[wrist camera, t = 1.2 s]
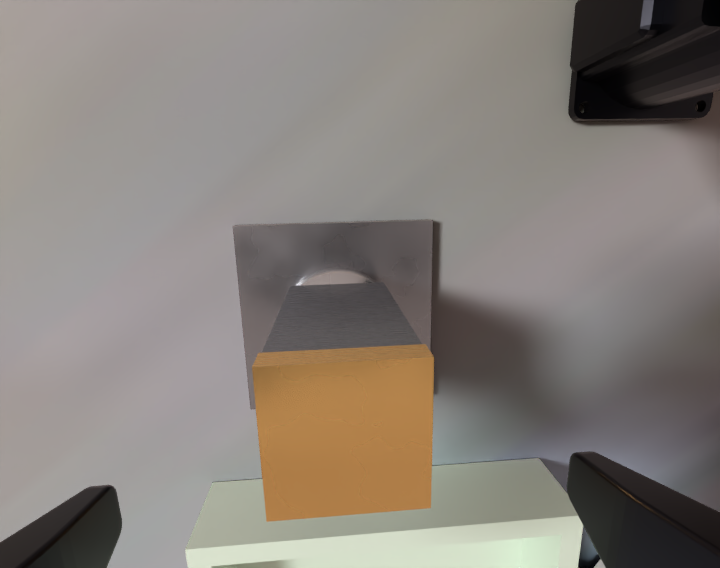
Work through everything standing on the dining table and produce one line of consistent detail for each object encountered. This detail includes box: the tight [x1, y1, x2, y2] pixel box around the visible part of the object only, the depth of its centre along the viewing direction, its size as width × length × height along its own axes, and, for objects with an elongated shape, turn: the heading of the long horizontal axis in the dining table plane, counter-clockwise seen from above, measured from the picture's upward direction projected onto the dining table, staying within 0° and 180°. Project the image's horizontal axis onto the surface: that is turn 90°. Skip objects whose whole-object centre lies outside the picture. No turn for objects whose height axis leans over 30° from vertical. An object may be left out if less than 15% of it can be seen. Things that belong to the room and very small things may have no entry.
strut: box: [252, 282, 434, 522], centre depth 13 cm, size 4×4×8 cm
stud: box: [233, 219, 433, 409], centre depth 18 cm, size 9×9×2 cm
